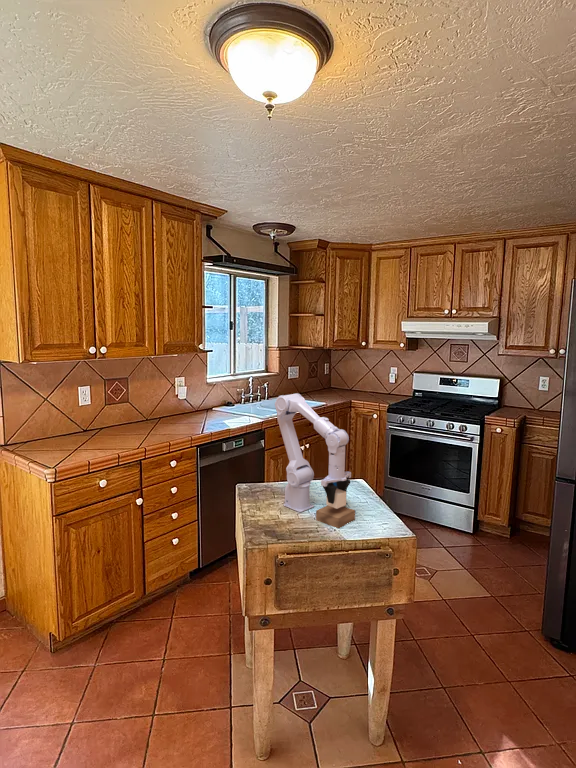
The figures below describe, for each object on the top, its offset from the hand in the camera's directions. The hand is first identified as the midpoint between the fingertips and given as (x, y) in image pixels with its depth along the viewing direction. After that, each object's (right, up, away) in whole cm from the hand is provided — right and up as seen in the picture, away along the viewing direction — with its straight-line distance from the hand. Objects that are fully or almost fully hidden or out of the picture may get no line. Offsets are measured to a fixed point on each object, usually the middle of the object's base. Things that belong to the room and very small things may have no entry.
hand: (336, 500), depth 163 cm
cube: (0, -2, 0) cm, 2 cm away
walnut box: (0, -8, +1) cm, 8 cm away
